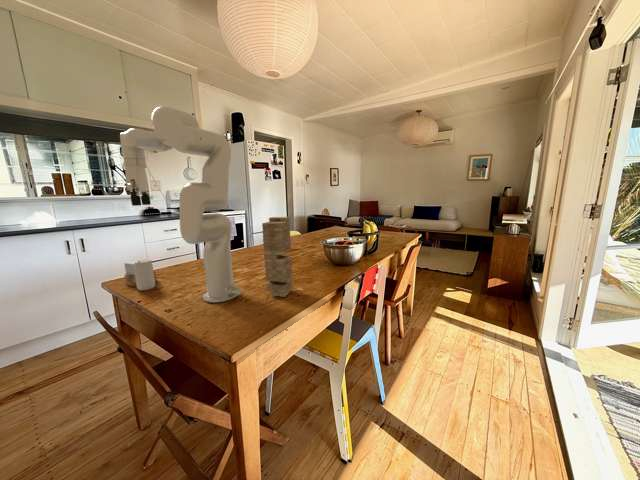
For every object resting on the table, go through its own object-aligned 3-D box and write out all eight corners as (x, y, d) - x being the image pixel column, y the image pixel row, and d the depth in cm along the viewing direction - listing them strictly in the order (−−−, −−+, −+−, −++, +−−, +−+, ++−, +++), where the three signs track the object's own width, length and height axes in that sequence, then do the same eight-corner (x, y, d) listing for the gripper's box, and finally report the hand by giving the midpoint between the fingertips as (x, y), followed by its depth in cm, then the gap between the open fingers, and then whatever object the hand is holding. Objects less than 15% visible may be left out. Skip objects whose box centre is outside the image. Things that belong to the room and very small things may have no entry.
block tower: (265, 296, 95) (260, 218, 90) (275, 287, 103) (271, 216, 98) (284, 298, 93) (281, 219, 88) (293, 289, 101) (290, 216, 96)
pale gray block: (152, 270, 114) (151, 260, 113) (137, 275, 108) (135, 264, 107) (141, 269, 117) (140, 259, 116) (126, 274, 110) (124, 263, 109)
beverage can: (134, 289, 105) (129, 261, 102) (150, 284, 110) (146, 258, 108) (142, 292, 102) (138, 263, 99) (159, 287, 107) (155, 259, 105)
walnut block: (156, 280, 116) (155, 270, 115) (139, 287, 108) (138, 276, 107) (143, 279, 118) (141, 269, 117) (126, 285, 111) (124, 274, 110)
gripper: (134, 166, 114) (140, 204, 117) (114, 161, 97) (121, 206, 100) (153, 166, 115) (158, 204, 118) (136, 161, 99) (143, 205, 102)
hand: (141, 205), depth 109 cm, fingers open, 9 cm apart
